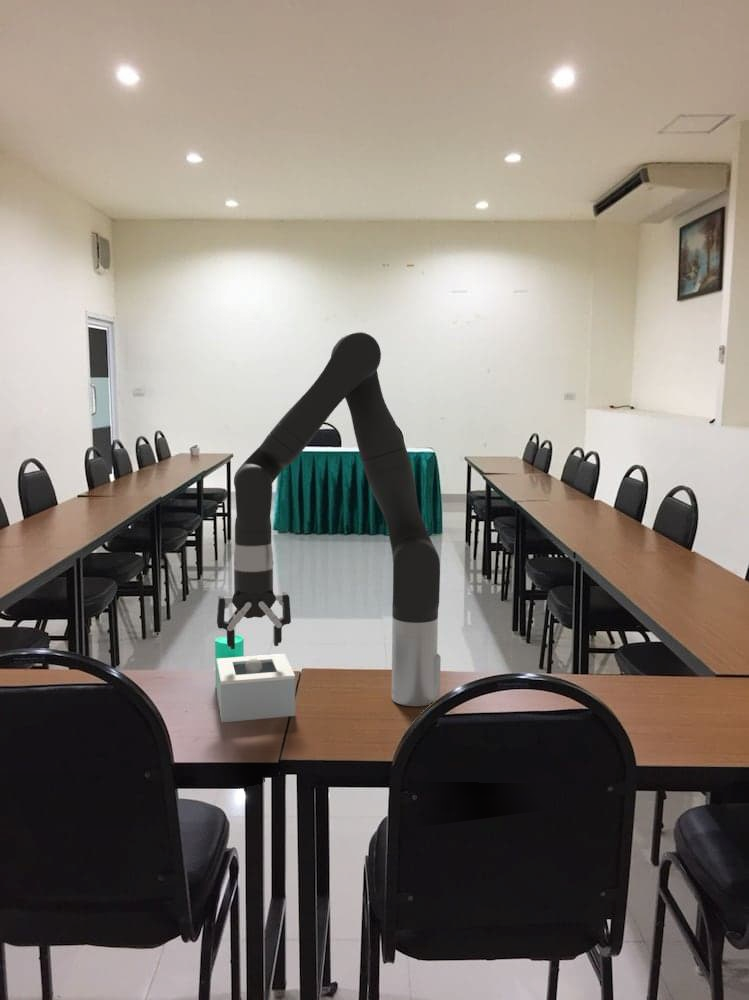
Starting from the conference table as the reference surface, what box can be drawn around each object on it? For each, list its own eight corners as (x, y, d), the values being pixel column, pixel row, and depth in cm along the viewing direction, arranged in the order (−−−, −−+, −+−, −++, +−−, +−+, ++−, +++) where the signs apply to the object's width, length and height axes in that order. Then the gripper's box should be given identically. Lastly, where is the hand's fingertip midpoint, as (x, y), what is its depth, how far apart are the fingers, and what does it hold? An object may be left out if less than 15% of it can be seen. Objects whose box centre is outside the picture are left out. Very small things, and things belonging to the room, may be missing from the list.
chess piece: (272, 703, 154) (272, 659, 153) (249, 710, 151) (249, 665, 150) (257, 695, 158) (256, 653, 157) (234, 702, 155) (234, 658, 154)
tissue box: (284, 690, 163) (284, 653, 162) (295, 715, 150) (295, 675, 149) (217, 696, 160) (216, 658, 159) (221, 722, 146) (220, 681, 145)
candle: (245, 681, 168) (245, 627, 167) (242, 691, 162) (241, 635, 161) (218, 681, 168) (217, 627, 167) (213, 691, 162) (212, 635, 161)
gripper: (287, 561, 157) (287, 638, 159) (215, 564, 153) (216, 643, 155) (292, 568, 150) (293, 649, 151) (217, 571, 146) (218, 655, 148)
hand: (254, 646), depth 153 cm, fingers open, 8 cm apart
